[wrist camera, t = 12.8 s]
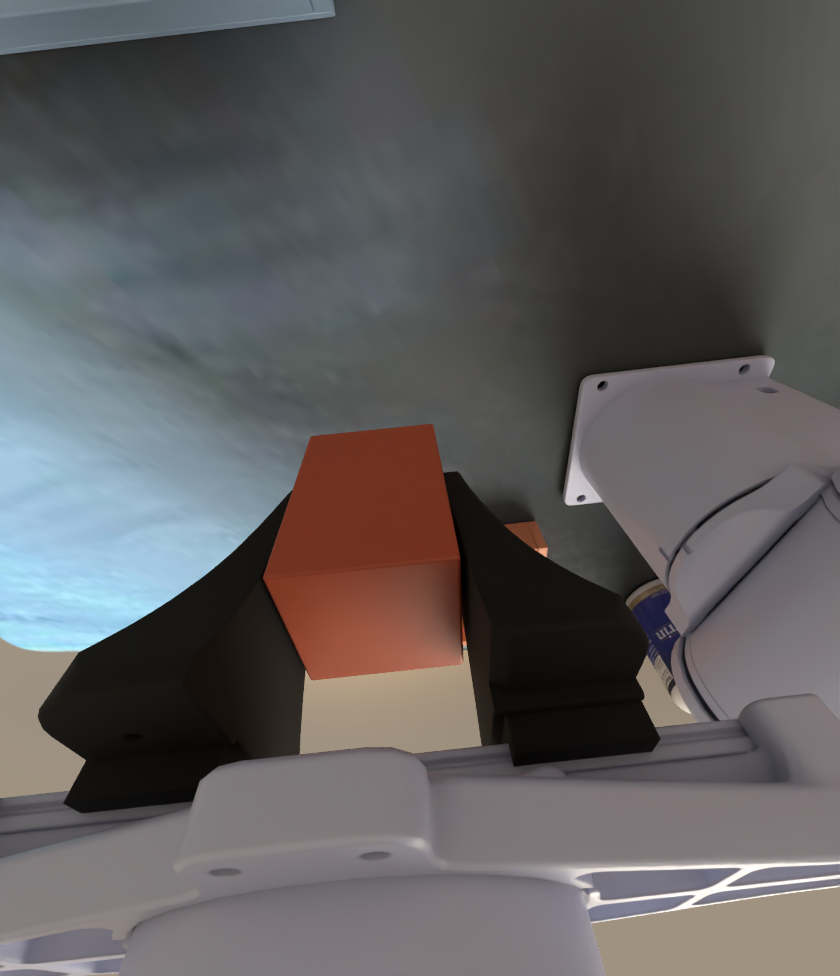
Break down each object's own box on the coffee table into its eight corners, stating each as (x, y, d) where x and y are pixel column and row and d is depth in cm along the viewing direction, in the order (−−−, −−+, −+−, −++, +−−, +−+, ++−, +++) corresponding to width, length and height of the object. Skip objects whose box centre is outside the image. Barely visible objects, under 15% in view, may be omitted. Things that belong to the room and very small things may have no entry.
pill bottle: (695, 563, 28) (818, 704, 20) (696, 606, 32) (802, 743, 23) (616, 588, 29) (702, 732, 21) (624, 628, 33) (703, 766, 25)
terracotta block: (433, 422, 13) (460, 557, 8) (439, 516, 15) (463, 665, 10) (310, 435, 13) (260, 578, 8) (335, 527, 15) (310, 682, 10)
